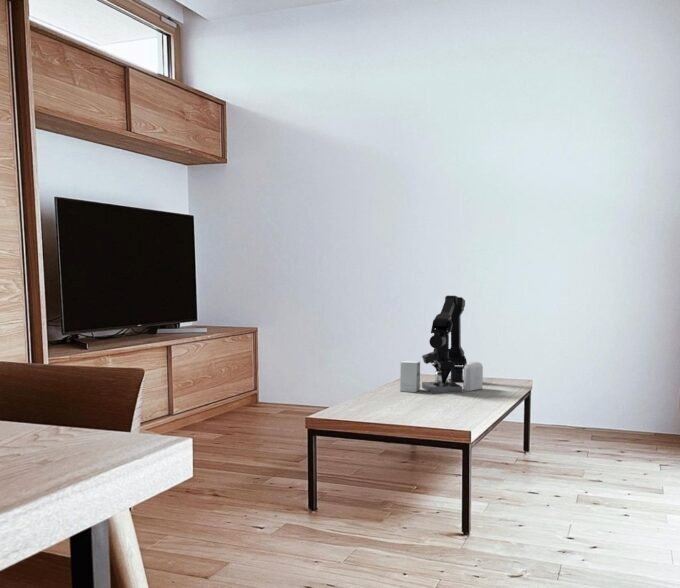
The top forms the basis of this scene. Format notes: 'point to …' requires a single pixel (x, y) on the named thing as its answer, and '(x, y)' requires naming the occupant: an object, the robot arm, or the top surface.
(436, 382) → the lens
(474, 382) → the photo printer
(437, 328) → the robot arm
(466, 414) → the top surface
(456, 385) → the mount plate
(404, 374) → the supplement box
